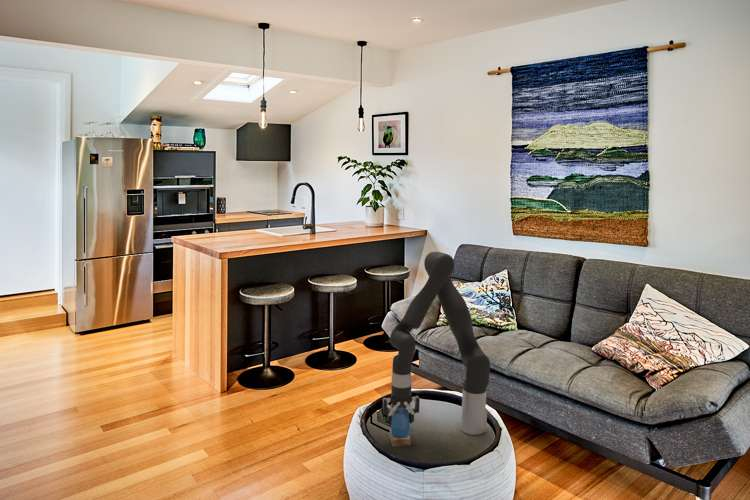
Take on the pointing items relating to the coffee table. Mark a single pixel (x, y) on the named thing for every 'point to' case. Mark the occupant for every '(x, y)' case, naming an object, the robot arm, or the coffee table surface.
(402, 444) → the pedestal
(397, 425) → the perfume bottle
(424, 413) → the coffee table surface
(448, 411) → the coffee table surface
